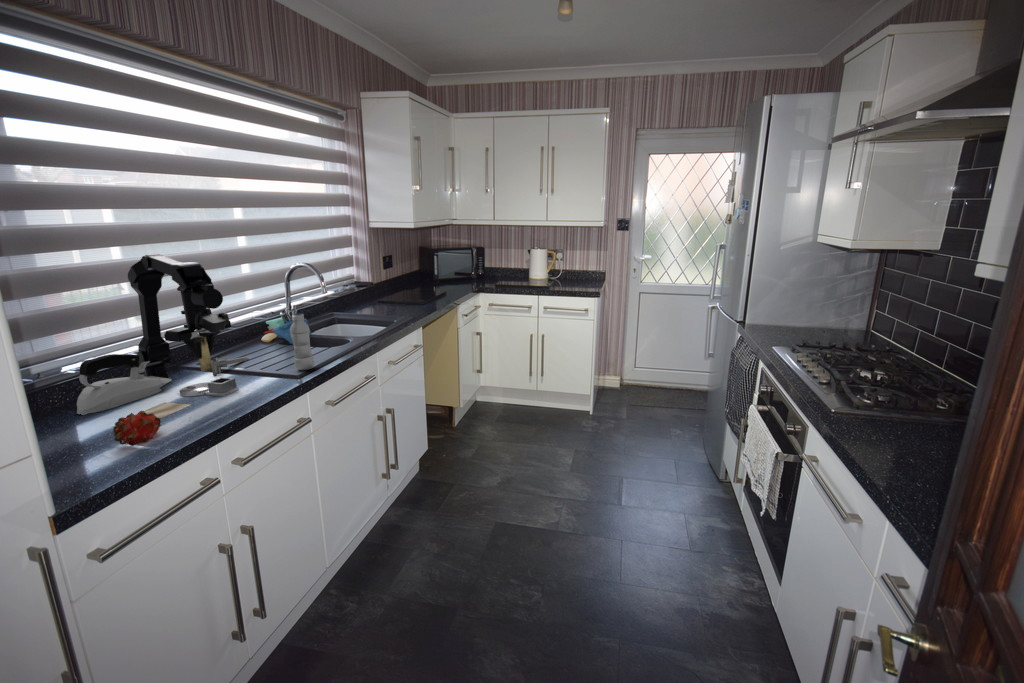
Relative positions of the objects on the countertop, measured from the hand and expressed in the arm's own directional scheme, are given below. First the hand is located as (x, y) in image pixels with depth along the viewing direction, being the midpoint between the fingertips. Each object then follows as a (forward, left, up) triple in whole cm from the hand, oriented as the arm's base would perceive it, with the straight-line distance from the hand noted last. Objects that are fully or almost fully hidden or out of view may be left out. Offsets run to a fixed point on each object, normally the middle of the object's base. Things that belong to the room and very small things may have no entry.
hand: (204, 357), depth 156 cm
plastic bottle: (+11, +30, -13) cm, 35 cm away
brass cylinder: (0, 0, -4) cm, 4 cm away
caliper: (-19, +29, -14) cm, 37 cm away
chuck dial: (-5, +3, -13) cm, 14 cm away
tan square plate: (-5, -13, -13) cm, 19 cm away
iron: (-25, -8, -13) cm, 30 cm away
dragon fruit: (+7, -30, -13) cm, 33 cm away
